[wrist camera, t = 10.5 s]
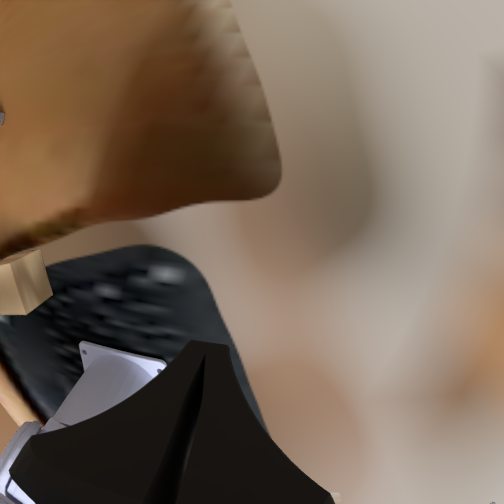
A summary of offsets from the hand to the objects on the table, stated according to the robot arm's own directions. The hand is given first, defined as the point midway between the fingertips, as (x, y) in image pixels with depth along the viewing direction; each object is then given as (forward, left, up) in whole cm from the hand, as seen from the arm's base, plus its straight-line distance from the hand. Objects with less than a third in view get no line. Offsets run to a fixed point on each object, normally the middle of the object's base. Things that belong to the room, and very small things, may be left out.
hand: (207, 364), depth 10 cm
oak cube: (-3, +17, -10) cm, 20 cm away
